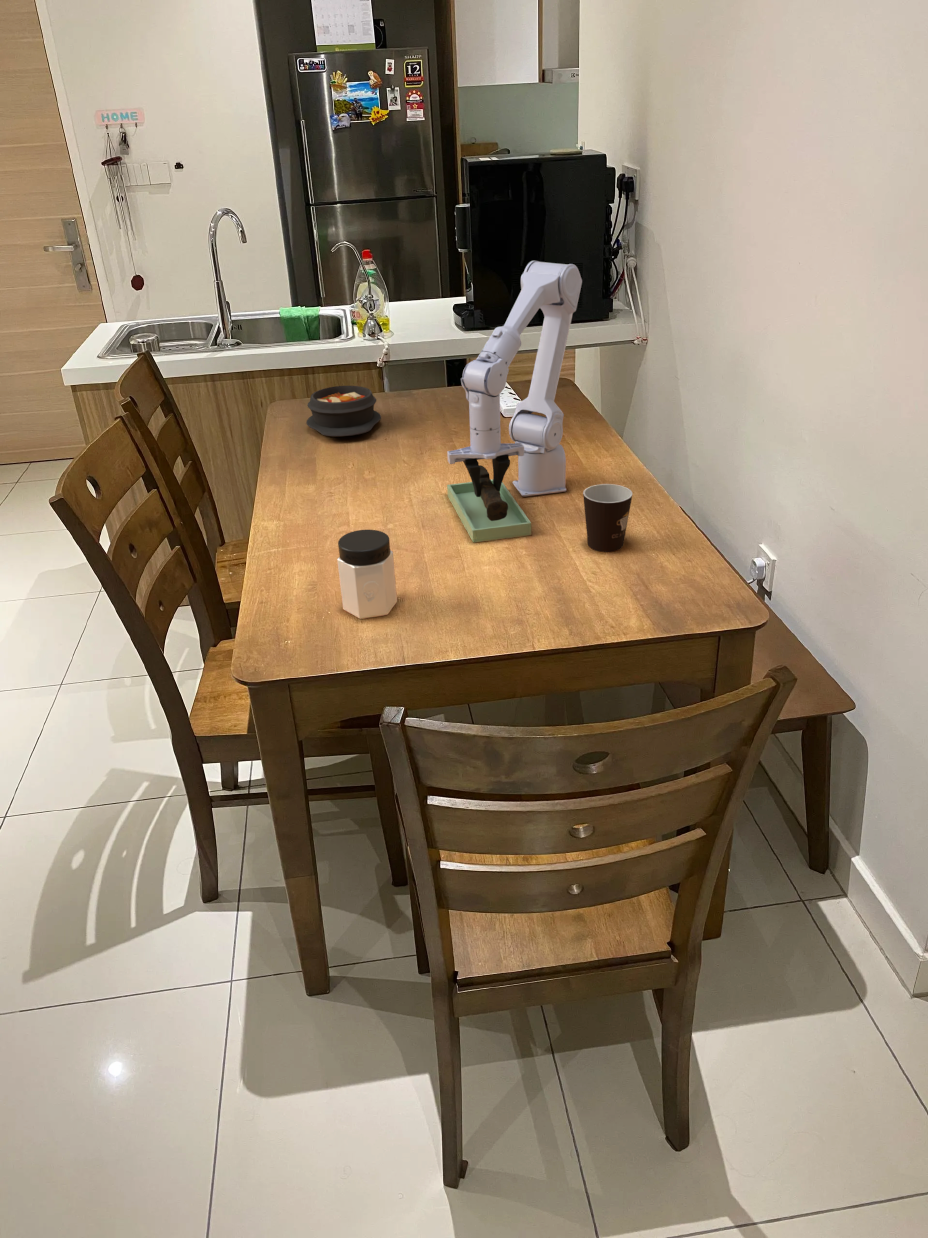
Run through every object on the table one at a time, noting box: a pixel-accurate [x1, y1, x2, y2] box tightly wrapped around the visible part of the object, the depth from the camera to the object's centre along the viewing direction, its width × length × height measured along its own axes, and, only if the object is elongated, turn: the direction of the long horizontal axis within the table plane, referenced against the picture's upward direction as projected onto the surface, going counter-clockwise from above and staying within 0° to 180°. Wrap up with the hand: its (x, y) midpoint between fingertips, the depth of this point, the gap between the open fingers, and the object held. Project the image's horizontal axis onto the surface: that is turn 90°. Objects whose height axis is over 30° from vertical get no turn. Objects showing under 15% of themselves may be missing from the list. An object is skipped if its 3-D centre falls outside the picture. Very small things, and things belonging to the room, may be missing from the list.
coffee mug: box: [582, 483, 633, 553], centre depth 168 cm, size 12×9×10 cm
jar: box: [336, 529, 398, 620], centre depth 150 cm, size 9×8×12 cm
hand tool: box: [479, 464, 508, 521], centre depth 180 cm, size 19×4×5 cm, turn 8°
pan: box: [446, 478, 532, 543], centre depth 182 cm, size 11×23×2 cm, turn 13°
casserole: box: [306, 385, 382, 438], centre depth 231 cm, size 25×19×8 cm
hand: (486, 493), depth 181 cm, fingers closed on hand tool, 3 cm apart
